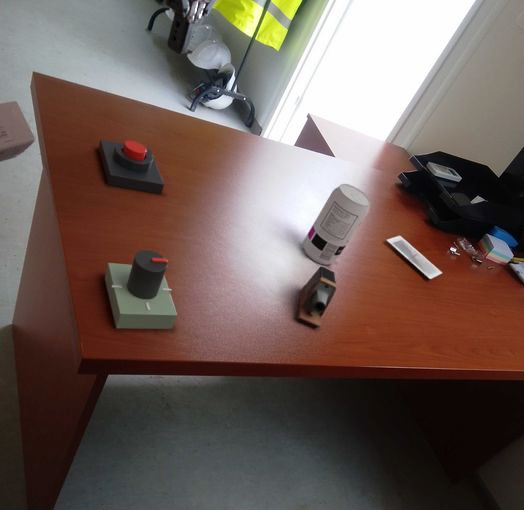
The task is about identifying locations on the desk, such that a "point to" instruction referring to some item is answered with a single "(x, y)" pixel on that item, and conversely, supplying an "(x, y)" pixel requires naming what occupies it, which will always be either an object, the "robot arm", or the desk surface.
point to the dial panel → (137, 302)
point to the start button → (134, 150)
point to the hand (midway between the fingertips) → (176, 50)
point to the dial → (146, 274)
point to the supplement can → (336, 224)
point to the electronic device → (316, 297)
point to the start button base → (129, 169)
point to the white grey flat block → (414, 257)
